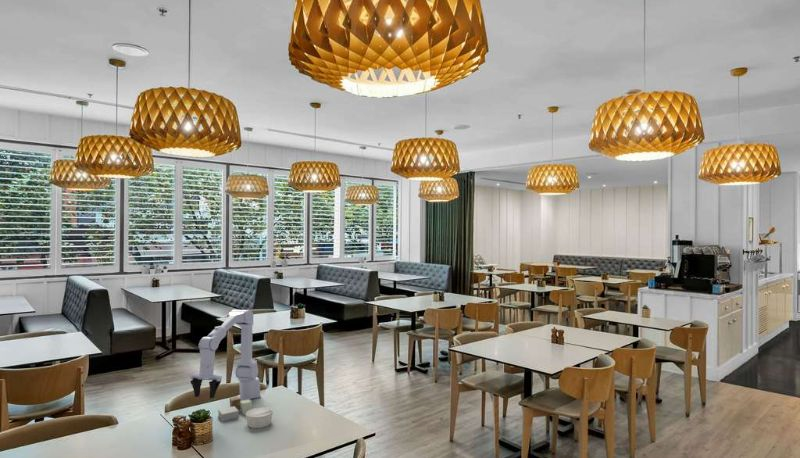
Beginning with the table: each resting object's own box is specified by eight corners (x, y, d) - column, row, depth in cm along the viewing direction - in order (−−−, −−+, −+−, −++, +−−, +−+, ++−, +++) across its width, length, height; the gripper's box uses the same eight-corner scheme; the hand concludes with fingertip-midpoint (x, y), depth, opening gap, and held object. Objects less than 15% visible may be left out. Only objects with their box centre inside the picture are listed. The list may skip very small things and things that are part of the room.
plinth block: (234, 412, 223) (234, 406, 223) (238, 417, 217) (238, 410, 217) (218, 416, 219) (218, 409, 219) (222, 421, 213) (222, 414, 213)
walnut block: (238, 407, 230) (238, 396, 230) (241, 409, 227) (240, 398, 227) (230, 408, 228) (229, 398, 228) (232, 411, 224) (231, 400, 224)
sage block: (249, 410, 226) (249, 399, 226) (251, 412, 222) (251, 401, 222) (240, 412, 224) (240, 401, 223) (242, 414, 220) (242, 403, 220)
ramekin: (265, 430, 202) (265, 417, 202) (240, 428, 205) (240, 416, 205) (277, 419, 213) (277, 407, 213) (253, 418, 216) (253, 406, 216)
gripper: (186, 365, 213) (184, 397, 211) (215, 366, 209) (213, 400, 207) (197, 363, 220) (195, 394, 218) (225, 365, 216) (223, 397, 214)
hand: (204, 397), depth 213 cm, fingers open, 7 cm apart
